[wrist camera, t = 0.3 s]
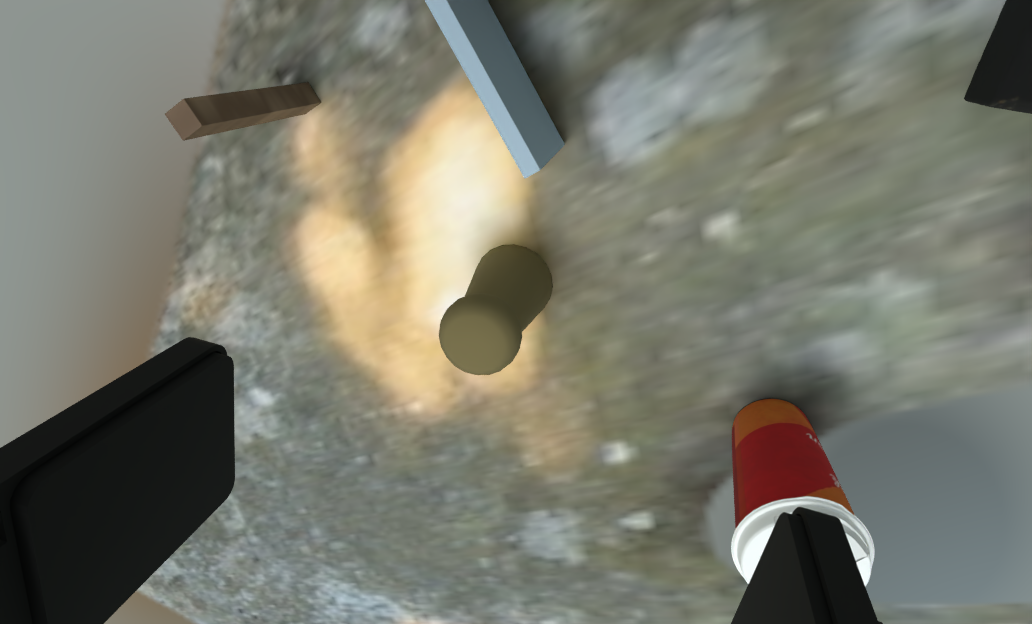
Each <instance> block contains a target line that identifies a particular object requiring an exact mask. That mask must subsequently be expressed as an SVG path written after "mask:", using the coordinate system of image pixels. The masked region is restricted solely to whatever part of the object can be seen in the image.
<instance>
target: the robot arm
mask: <svg viewBox="0 0 1032 624" xmlns="http://www.w3.org/2000/svg"><path fill="white" fill-rule="evenodd" d="M234 481H235V446H234V365H233V360H232V358H231V357H229V356H227V352H226V350H225V348H224V347H223V346H221V345H218V344H215V343H211V342H207V341H204V340H200V339H197V338H191V337H188V338H186V339H183V340H182V341H180V342H178V343H177V344H175V345H173V346H172V347H170V348H168V349H166V350H165V351H163V352H161V353H160V354H158V355H156V356H155V357H153V358H151V359H150V360H148V361H146V362H145V363H143V364H141V365H140V366H138V367H136V368H135V369H133V370H131V371H129V372H128V373H126V374H124V375H123V376H121V377H119V378H118V379H116V380H114V381H113V382H111V383H109V384H108V385H106V386H104V387H103V388H101V389H99V390H97V391H96V392H94V393H92V394H91V395H89V396H87V397H86V398H84V399H82V400H80V401H79V402H77V403H75V404H74V405H72V406H70V407H69V408H67V409H65V410H64V411H62V412H60V413H59V414H57V415H55V416H54V417H52V418H50V419H48V420H47V421H45V422H43V423H42V424H40V425H38V426H37V427H35V428H33V429H32V430H30V431H28V432H26V433H25V434H23V435H21V436H20V437H18V438H16V439H15V440H13V441H11V442H10V443H8V444H6V445H5V446H3V447H1V448H0V624H104V623H105V622H106V621H107V620H108V619H109V617H111V616H112V615H113V614H114V612H116V610H117V609H118V608H119V607H120V606H121V605H122V604H123V603H124V602H125V601H126V600H127V599H128V598H129V597H130V596H131V595H132V594H133V593H134V592H135V591H136V590H137V589H138V588H139V587H140V586H141V585H142V584H143V583H144V582H145V581H146V580H147V579H148V578H149V577H150V576H151V575H152V574H153V573H154V572H155V571H156V570H157V569H158V568H159V567H160V566H161V565H162V564H163V563H164V562H165V561H166V560H167V559H168V558H169V557H170V556H171V555H172V554H173V553H174V552H175V551H176V550H177V549H178V548H179V547H180V546H181V545H182V544H183V543H184V542H185V541H186V540H187V539H188V538H189V537H190V536H191V535H192V534H193V533H194V532H195V531H196V530H197V529H198V528H199V526H200V525H201V524H202V523H203V522H204V521H205V520H206V519H207V518H208V517H209V516H210V515H211V514H212V513H213V512H214V511H215V510H216V509H217V508H218V507H219V506H220V505H221V504H222V503H223V502H224V501H225V500H226V499H227V498H228V496H229V494H230V493H231V491H232V488H233V485H234ZM731 624H883V623H882V622H879V621H878V620H877V617H876V615H875V612H874V609H873V607H872V604H871V601H870V598H869V596H868V593H867V591H866V588H865V585H864V582H863V579H862V577H861V574H860V571H859V569H858V566H857V563H856V561H855V558H854V555H853V552H852V550H851V547H850V544H849V542H848V539H847V536H846V533H845V531H844V528H843V525H842V523H841V521H840V519H839V518H837V517H836V516H832V515H828V514H825V513H821V512H818V511H814V510H811V509H807V508H803V507H797V508H796V509H795V510H794V511H793V513H792V514H790V513H786V512H783V513H781V514H780V516H779V518H778V519H777V522H776V524H775V526H774V528H773V531H772V533H771V535H770V537H769V540H768V542H767V544H766V546H765V548H764V551H763V553H762V555H761V557H760V560H759V562H758V564H757V566H756V569H755V571H754V573H753V575H752V578H751V580H750V582H749V584H748V587H747V589H746V591H745V593H744V596H743V598H742V600H741V602H740V605H739V607H738V609H737V611H736V614H735V616H734V618H733V620H732V623H731Z"/></svg>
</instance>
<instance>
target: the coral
mask: <svg viewBox="0 0 1032 624" xmlns="http://www.w3.org/2000/svg"><path fill="white" fill-rule="evenodd" d="M964 99H965V100H966V101H969V102H973V103H977V104H981V105H985V106H989V107H994V108H1001V109H1007V110H1012V111H1018V112H1024V113H1031V114H1032V0H1007V1H1006V3H1005V5H1004V7H1003V9H1002V11H1001V13H1000V16H999V18H998V21H997V24H996V26H995V28H994V30H993V33H992V35H991V37H990V39H989V41H988V44H987V46H986V48H985V50H984V53H983V55H982V58H981V60H980V62H979V64H978V66H977V69H976V71H975V73H974V76H973V78H972V81H971V84H970V86H969V88H968V91H967V93H966V95H965V98H964Z"/></svg>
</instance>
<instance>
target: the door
mask: <svg viewBox="0 0 1032 624" xmlns="http://www.w3.org/2000/svg"><path fill="white" fill-rule="evenodd" d="M425 2H426V3H427V5H428V7H429V9H430V10H431V12H432V14H433V16H434V18H435V19H436V21H437V23H438V25H439V27H440V28H441V30H442V32H443V34H444V35H445V37H446V39H447V41H448V43H449V44H450V46H451V48H452V50H453V51H454V53H455V55H456V57H457V59H458V60H459V62H460V64H461V66H462V68H463V69H464V71H465V73H466V75H467V76H468V78H469V80H470V82H471V84H472V85H473V87H474V89H475V91H476V93H477V94H478V96H479V98H480V100H481V101H482V103H483V105H484V107H485V109H486V110H487V112H488V114H489V116H490V117H491V119H492V121H493V123H494V125H495V126H496V128H497V130H498V132H499V134H500V135H501V137H502V139H503V141H504V142H505V144H506V146H507V148H508V150H509V151H510V153H511V155H512V157H513V159H514V160H515V162H516V164H517V166H518V167H519V169H520V171H521V173H522V175H523V176H524V178H527V177H529V176H530V175H532V174H534V173H536V172H538V171H539V170H541V169H542V168H543V167H544V166H545V165H546V164H547V162H548V161H549V160H550V159H551V158H552V157H553V156H554V155H555V154H556V153H557V152H558V151H559V150H560V149H561V148H562V147H563V146H564V145H565V144H564V142H563V140H562V138H561V137H560V135H559V133H558V131H557V129H556V127H555V125H554V123H553V122H552V120H551V118H550V116H549V114H548V112H547V110H546V108H545V107H544V105H543V103H542V101H541V99H540V97H539V95H538V94H537V92H536V90H535V88H534V86H533V84H532V82H531V80H530V79H529V77H528V75H527V73H526V71H525V69H524V67H523V66H522V64H521V62H520V60H519V58H518V56H517V54H516V52H515V51H514V49H513V47H512V45H511V43H510V41H509V39H508V38H507V36H506V34H505V32H504V30H503V28H502V26H501V24H500V23H499V21H498V19H497V17H496V15H495V13H494V11H493V10H492V8H491V6H490V4H489V2H488V0H425Z"/></svg>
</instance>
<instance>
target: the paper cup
mask: <svg viewBox="0 0 1032 624" xmlns="http://www.w3.org/2000/svg"><path fill="white" fill-rule="evenodd" d="M732 459H733V483H734V504H735V524H736V530H735V532H734V535H733V537H732V544H731V551H732V557H733V560H734V563H735V565H736V567H737V569H738V571H739V572H740V573H741V575H742V576H743V577H744V578H745V580H746V582H747V583H748V584H749V582H750V580H751V578H752V575H753V573H754V571H755V569H756V566H757V564H758V562H759V560H760V557H761V555H762V553H763V551H764V548H765V546H766V544H767V542H768V540H769V537H770V535H771V533H772V531H773V528H774V526H775V524H776V522H777V519H778V518H779V516H780V514H781V513H783V512H786V513H790V514H792V513H793V511H794V510H795V509H796V508H797V507H803V508H807V509H811V510H814V511H818V512H821V513H825V514H828V515H832V516H836V517H837V518H839V519H840V521H841V523H842V525H843V528H844V531H845V533H846V536H847V539H848V542H849V544H850V547H851V550H852V552H853V555H854V558H855V561H856V563H857V566H858V569H859V571H860V574H861V577H862V579H863V582H864V585H865V586H866V584H867V583H868V581H869V577H870V574H871V567H872V564H873V560H874V545H873V540H872V538H871V535H870V533H869V531H868V530H867V528H866V527H865V525H864V524H863V523H862V522H861V521H860V520H859V519H858V518H857V517H856V516H855V515H854V513H853V511H852V509H851V507H850V504H849V503H848V500H847V498H846V496H845V494H844V492H843V490H842V488H841V486H840V483H839V481H838V479H837V477H836V475H835V473H834V471H833V469H832V467H831V465H830V463H829V461H828V458H827V456H826V454H825V452H824V450H823V448H822V446H821V444H820V442H819V440H818V438H817V436H816V434H815V432H814V430H813V428H812V426H811V424H810V422H809V420H808V419H807V417H806V416H805V414H804V413H803V412H802V411H801V410H800V409H799V408H798V407H797V406H795V405H793V404H792V403H789V402H787V401H784V400H780V399H763V400H758V401H755V402H753V403H750V404H749V405H747V406H745V407H744V408H743V409H742V410H741V411H740V412H739V413H738V414H737V416H736V418H735V420H734V422H733V427H732Z"/></svg>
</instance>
